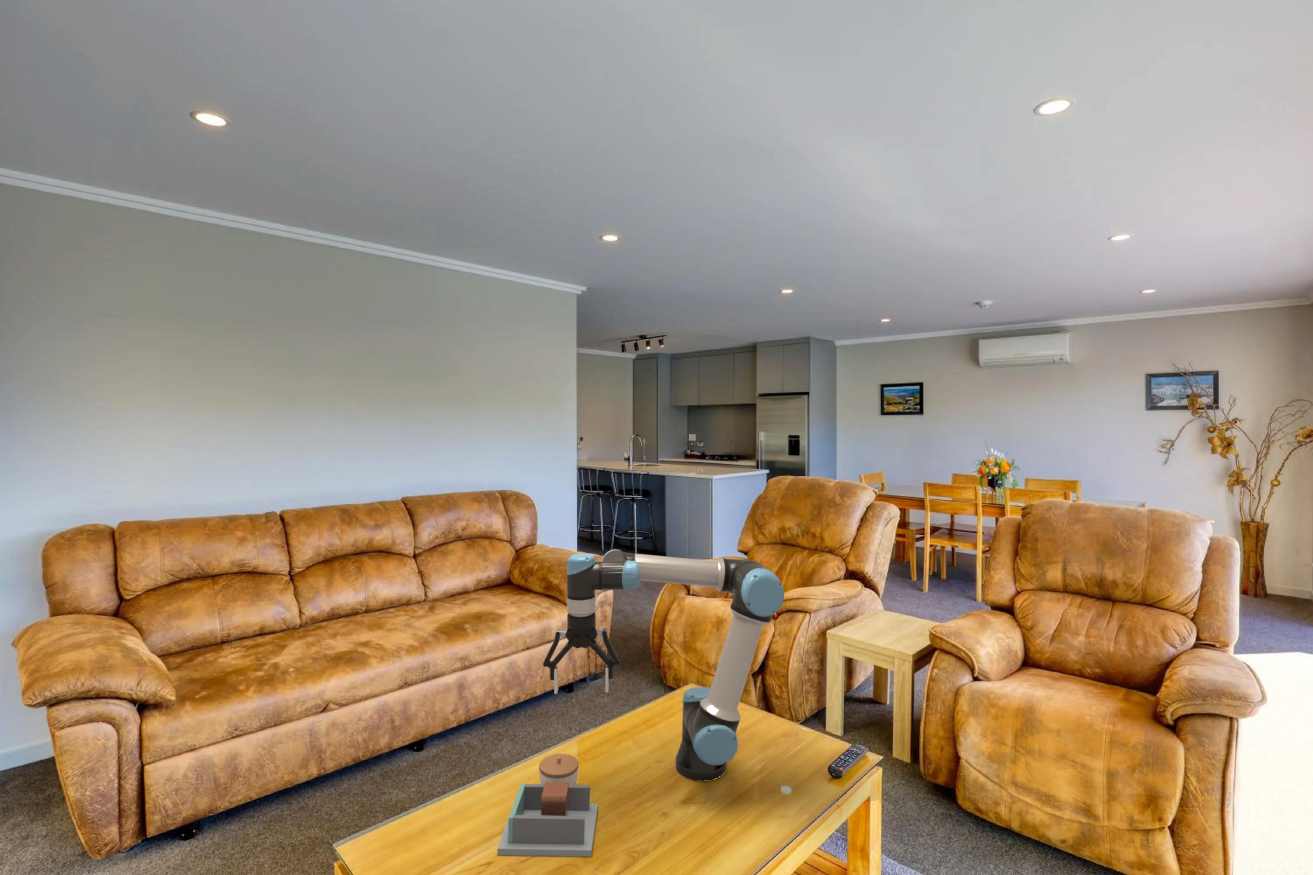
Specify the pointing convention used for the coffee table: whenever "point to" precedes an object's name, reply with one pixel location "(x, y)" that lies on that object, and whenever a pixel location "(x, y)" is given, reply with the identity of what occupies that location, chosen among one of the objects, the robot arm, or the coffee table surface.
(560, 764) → the lidded jar
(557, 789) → the upright terracotta block
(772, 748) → the coffee table surface
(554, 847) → the dock
